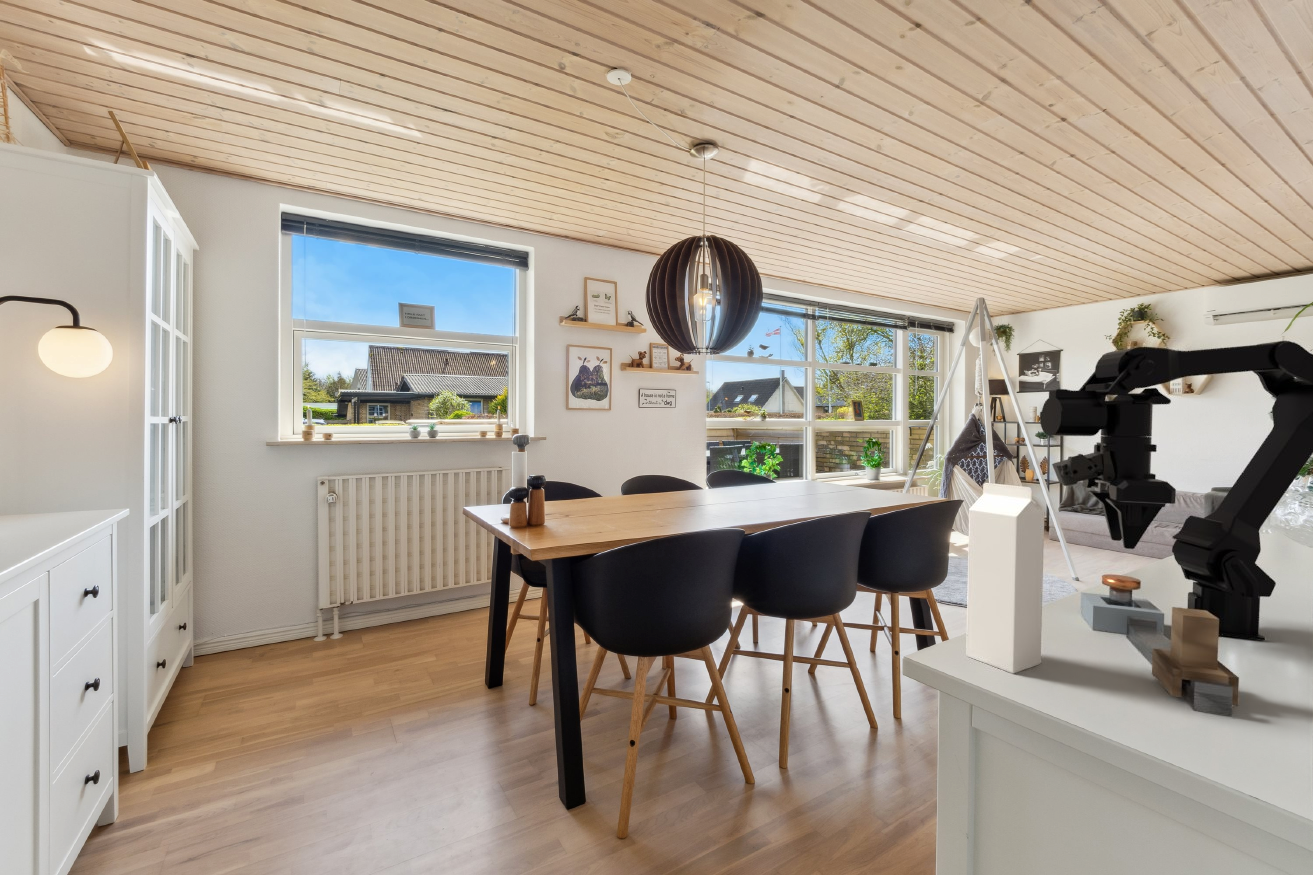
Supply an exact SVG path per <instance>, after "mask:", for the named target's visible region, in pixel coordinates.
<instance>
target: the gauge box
mask: <svg viewBox="0 0 1313 875" xmlns="http://www.w3.org/2000/svg"><path fill="white" fill-rule="evenodd" d="M1080 614H1081V615H1082V616H1081V615H1080V616H1081V617H1082V618H1084V619H1085V620H1084V619H1083V620H1084V621H1085V623H1086V624H1087V623H1088V624H1089V625H1090V626H1089V625H1088V624H1087V625H1088V626H1089V627H1090V628H1092V629H1093V630H1092V629H1091V630H1092V631H1097V630H1101V631H1100V632H1105V631H1107V632H1106V633H1113V632H1116V633H1115V634H1121V633H1122V635H1126V632H1127V616H1132V617H1141V618H1149V619H1155V620H1156V621H1157V629H1158V630H1159V631H1160V632H1161V633H1162V634H1163V635H1164V636H1165V613H1164V612H1163V611H1162V610H1161V609H1159V608H1158V607H1157V606H1155V605H1154V604H1153V603H1152V602H1151V601H1150V600H1149V599H1147V598H1141V597H1140V598H1139V597H1132V607H1125V606H1116V605H1109V594H1101V593H1092V592H1091V593H1090V592H1082V591H1081V593H1080ZM1094 629H1095V630H1094Z"/></svg>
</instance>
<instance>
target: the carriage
mask: <svg viewBox="0 0 1313 875" xmlns="http://www.w3.org/2000/svg"><path fill="white" fill-rule="evenodd" d="M1170 632H1171V633H1170V641H1171V651H1170V650H1162V649H1154V648H1153V651H1152V665H1151V675H1152V676H1153V677H1154V678H1155V679H1156V680H1157V681H1158V682H1159V683H1160V685H1161V686H1162V687H1163V688H1164V689H1165V690H1166V691H1167V692H1168V693H1169V695H1170V696H1171V697H1177V698H1182V697H1181V688H1182V679H1186V680H1191V678H1195V679H1201V680H1208V681H1215V682H1222V683H1228V684H1230V685H1231V686H1232V687H1233V699H1232V706H1234V707H1239V690H1240V689H1239V687H1240V686H1239V685H1240V677H1239V676H1237V675H1236V674H1235V673H1234V672H1233V671H1231V670H1230V668H1227V667H1226V666H1225V665H1224V664H1223V663H1222V662H1220V660H1219V659H1218V658H1219V654H1218V653H1219V636H1220V635H1219V619H1218V618H1217V617H1215V616H1214V615H1212V614H1211V613H1209V612H1208V611H1205V610H1196V609H1187V607H1186V608H1185V607H1176V606H1172V608H1171V631H1170Z"/></svg>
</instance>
